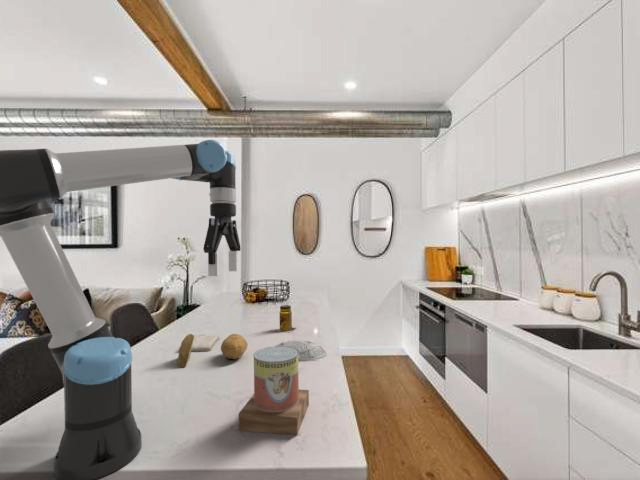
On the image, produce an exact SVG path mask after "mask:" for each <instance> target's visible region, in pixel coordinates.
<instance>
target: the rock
mask: <svg viewBox="0 0 640 480" xmlns="http://www.w3.org/2000/svg"><path fill="white" fill-rule="evenodd" d="M194 336H195V335H194V334H192V333H189V334H187V335H186V336H185V337H184V338H183V339H182V341H181V344H180V346H179V349H178V357H177V360H176V363H177V365H178V367H179V368H186V367H187V365H188V362H189V361H190V359H191V355H192V354H191V353H192V352H191V349H192V344H193V340H194Z"/></svg>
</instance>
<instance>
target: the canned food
mask: <svg viewBox="0 0 640 480" xmlns="http://www.w3.org/2000/svg"><path fill="white" fill-rule="evenodd" d="M274 346H275V347H274ZM274 346H269V347H268V346H267V347H263V348H261V349H258V350H256V351H255V352H254V353H253V390H254V391H253V394H254V405H255V407H256V408H258V409H259V410H261V411H265V412H282V411H286V410H289V409H291V408H293V407H295V406H296V405H297V404H298V402H299V390H300V389H299V386H300V385H299V382H300V381H299V361H298V354H299V352H298V351H297V350H296V349H294V348H291V347H284V346H276V345H274Z"/></svg>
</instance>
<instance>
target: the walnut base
mask: <svg viewBox="0 0 640 480" xmlns="http://www.w3.org/2000/svg"><path fill="white" fill-rule="evenodd" d="M309 394H310V393H309V389H299V402H298V404H297V405H296V406H295V407H293V408H291V409H289V410H286V411H282V412H265V411H261V410H259V409H258V408H256V407H255V405H254V393H253V394H252V396H250V398H249V399H248V401H247V402H246V403H245V405H244V406H243V408H242V409H241V410H240V411H239V413H238V430H239V431H242V432H243V431H244V432H253V433H254V432H255V433H267V434H268V433H269V434H281V435H292V436H295V435H296V436H298V435H299V431H300V429H301V426H302V424H303V421H304V418H305V416H306V413H307V411H308V408H309V405H310V404H309V402H310V398H309V397H310V396H309Z"/></svg>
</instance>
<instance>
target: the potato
mask: <svg viewBox="0 0 640 480" xmlns="http://www.w3.org/2000/svg"><path fill="white" fill-rule="evenodd" d="M247 349H248V342H247V340H246V339H245V337H244V336H243V335H241V334H239V333H231V334H230V335H228V336H227V337H226V338H225V339H224V340H223V341H222V343H221V345H220V351H221V353H222V355H223V356H225V357H226V358H227V359H230V360H235V361H236V360H237V359H239V358H241V357H242V356H243V355H244V354H245V352H246V351H247Z"/></svg>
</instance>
